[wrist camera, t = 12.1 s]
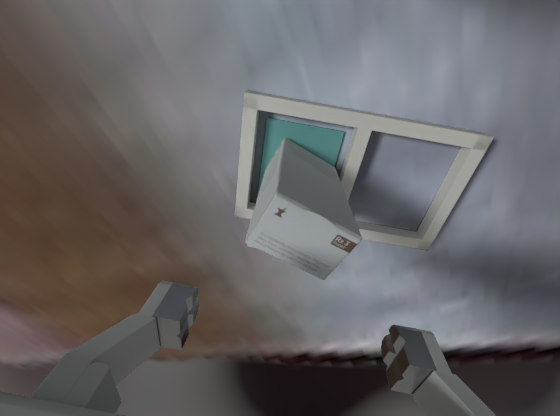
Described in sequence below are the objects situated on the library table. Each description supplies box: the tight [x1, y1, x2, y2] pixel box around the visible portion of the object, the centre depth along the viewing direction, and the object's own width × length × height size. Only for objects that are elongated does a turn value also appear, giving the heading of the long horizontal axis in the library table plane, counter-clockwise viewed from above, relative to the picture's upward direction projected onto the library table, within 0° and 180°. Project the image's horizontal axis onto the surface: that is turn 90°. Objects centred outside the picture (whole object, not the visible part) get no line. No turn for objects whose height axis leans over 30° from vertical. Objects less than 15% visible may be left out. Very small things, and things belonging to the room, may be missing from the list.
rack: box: [235, 90, 494, 250], centre depth 26 cm, size 21×17×2 cm
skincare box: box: [245, 138, 362, 280], centre depth 20 cm, size 6×4×12 cm
